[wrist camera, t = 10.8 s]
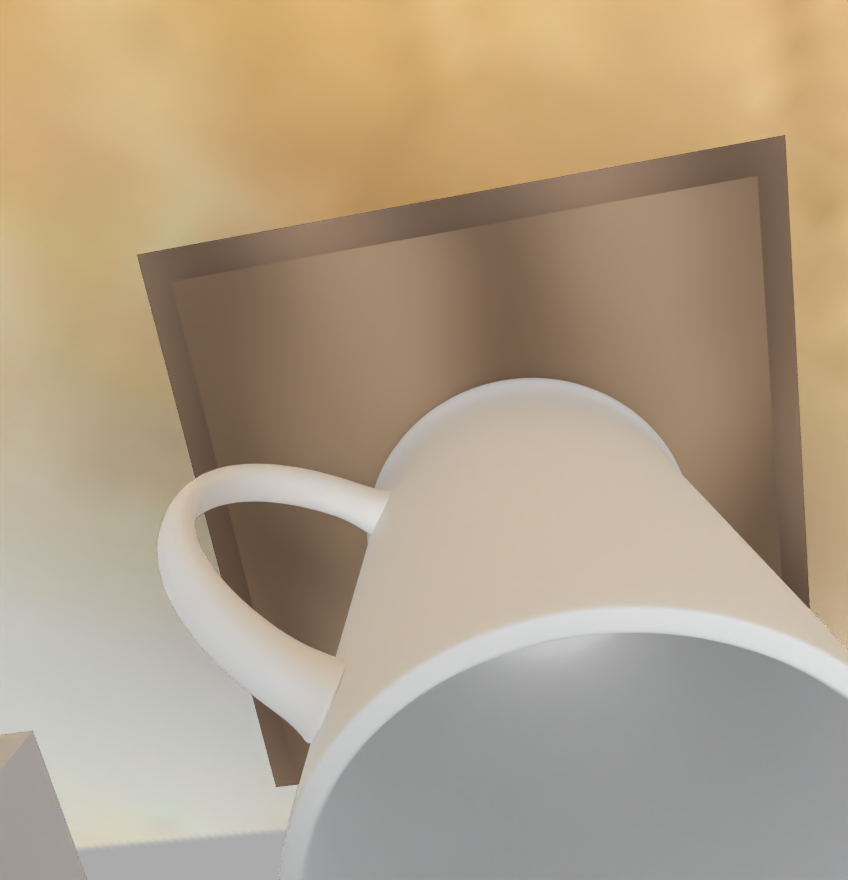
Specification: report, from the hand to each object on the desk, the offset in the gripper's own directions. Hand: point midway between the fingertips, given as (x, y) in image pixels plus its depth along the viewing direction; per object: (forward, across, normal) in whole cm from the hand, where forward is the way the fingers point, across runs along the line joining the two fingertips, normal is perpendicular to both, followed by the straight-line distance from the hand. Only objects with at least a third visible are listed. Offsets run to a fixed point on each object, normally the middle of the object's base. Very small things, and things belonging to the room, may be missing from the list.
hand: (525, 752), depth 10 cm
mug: (+11, 0, 0) cm, 11 cm away
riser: (+16, 0, -1) cm, 16 cm away
